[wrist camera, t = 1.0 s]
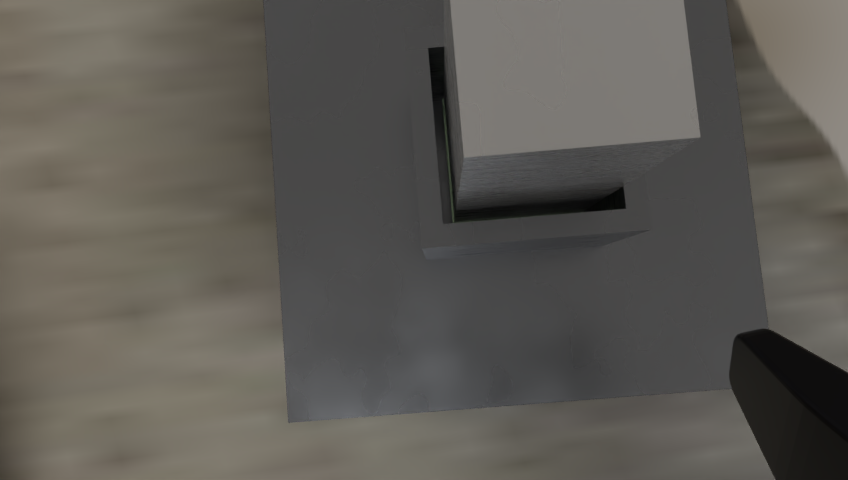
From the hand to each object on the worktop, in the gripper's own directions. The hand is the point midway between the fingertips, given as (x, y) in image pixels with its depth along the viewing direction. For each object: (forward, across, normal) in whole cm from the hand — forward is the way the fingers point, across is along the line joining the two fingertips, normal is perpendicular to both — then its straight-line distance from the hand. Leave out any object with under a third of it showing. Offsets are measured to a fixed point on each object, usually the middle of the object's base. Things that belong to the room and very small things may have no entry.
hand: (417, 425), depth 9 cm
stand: (+14, -4, +5) cm, 15 cm away
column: (+13, -4, +4) cm, 14 cm away
